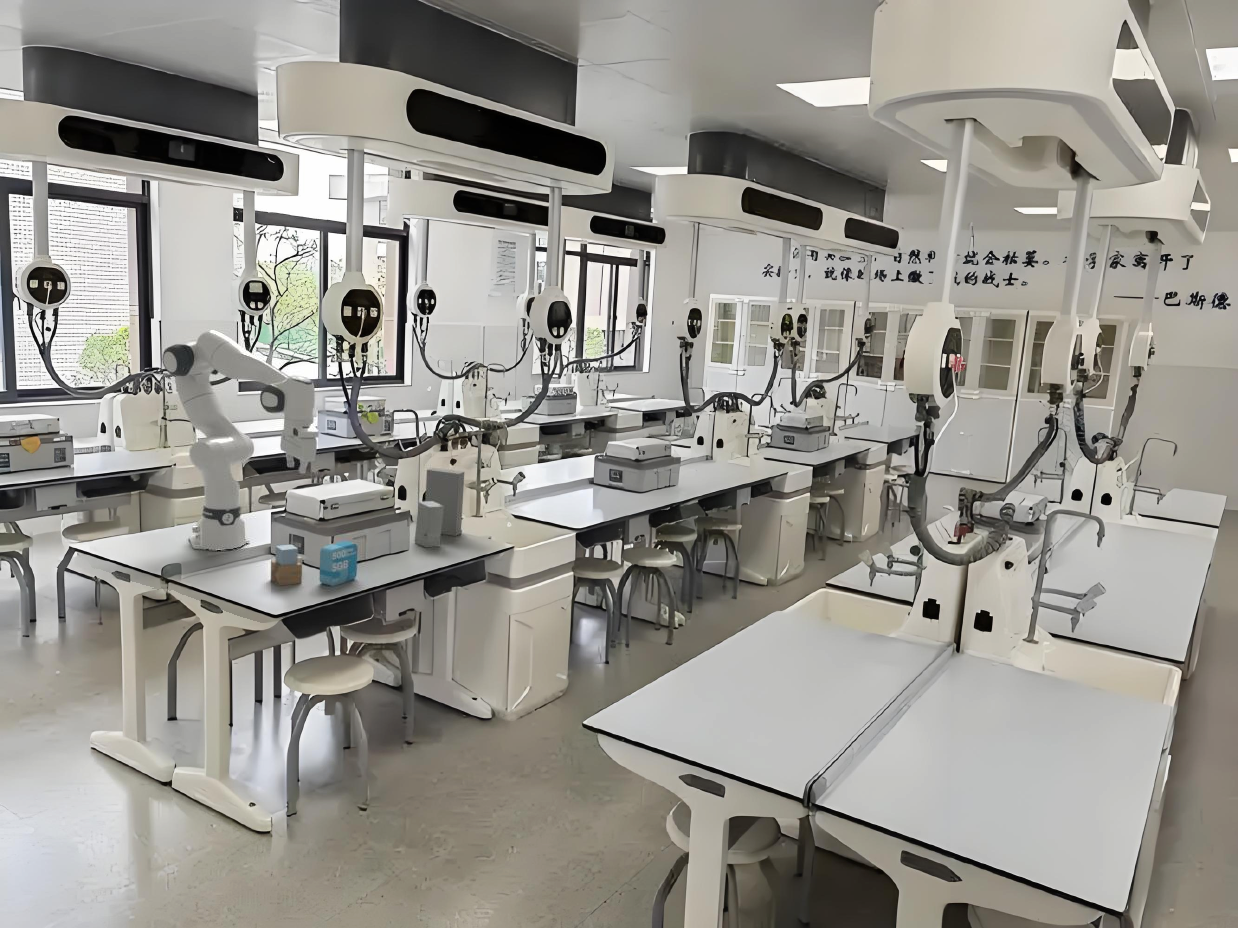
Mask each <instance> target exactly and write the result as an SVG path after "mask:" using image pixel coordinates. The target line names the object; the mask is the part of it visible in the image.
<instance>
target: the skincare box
mask: <svg viewBox="0 0 1238 928" xmlns="http://www.w3.org/2000/svg"><path fill="white" fill-rule="evenodd" d="M443 511H444V506H442V505H440V504H439V503H436V502H433V501H425V500H424V501H419V502H418V508H417V516H416V526H415V535H414V543H415V544H417V545H420V546H421V547H425V548H433V546H434V547H439V546H438V545H441V535H442V534H441V528H442V519H443Z"/></svg>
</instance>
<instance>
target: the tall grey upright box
mask: <svg viewBox="0 0 1238 928" xmlns="http://www.w3.org/2000/svg"><path fill="white" fill-rule="evenodd" d="M464 484H465V471H461V470H454V469H445V468H437V467H431V468H428V469H426V482H425V500H424V502H425V501H433V502H436V503H439V504H440V505H442V506H444V511H443V519H442V528H441V535H448V536H453V537H457V536H458V535H460V534H462V533H463V530H462V523H463V522H462V520H463V503H464Z"/></svg>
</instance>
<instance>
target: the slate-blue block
mask: <svg viewBox="0 0 1238 928" xmlns="http://www.w3.org/2000/svg"><path fill="white" fill-rule="evenodd" d="M298 553H299V548H298V547H296V546H295V545H293V544H283V545H276V546H275V561H276V562H277V563H278V564H280V565H281V566H284V565H292V564H298V556H299V555H298Z"/></svg>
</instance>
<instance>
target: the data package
mask: <svg viewBox="0 0 1238 928" xmlns="http://www.w3.org/2000/svg"><path fill="white" fill-rule="evenodd" d="M319 555H320V556H319V578H318V580H319V582H320V584H323V585H326V586H331V587H335V586H337V585H340V584H341V585H342V584H343V583H346V582H350V581H353V580H355V578H356V577H357V572H358V545H357V544H356V543H353V542H349V541H340V542H336V543H333V544H330V545H325V546H323V547H321V549H320V551H319Z"/></svg>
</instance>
